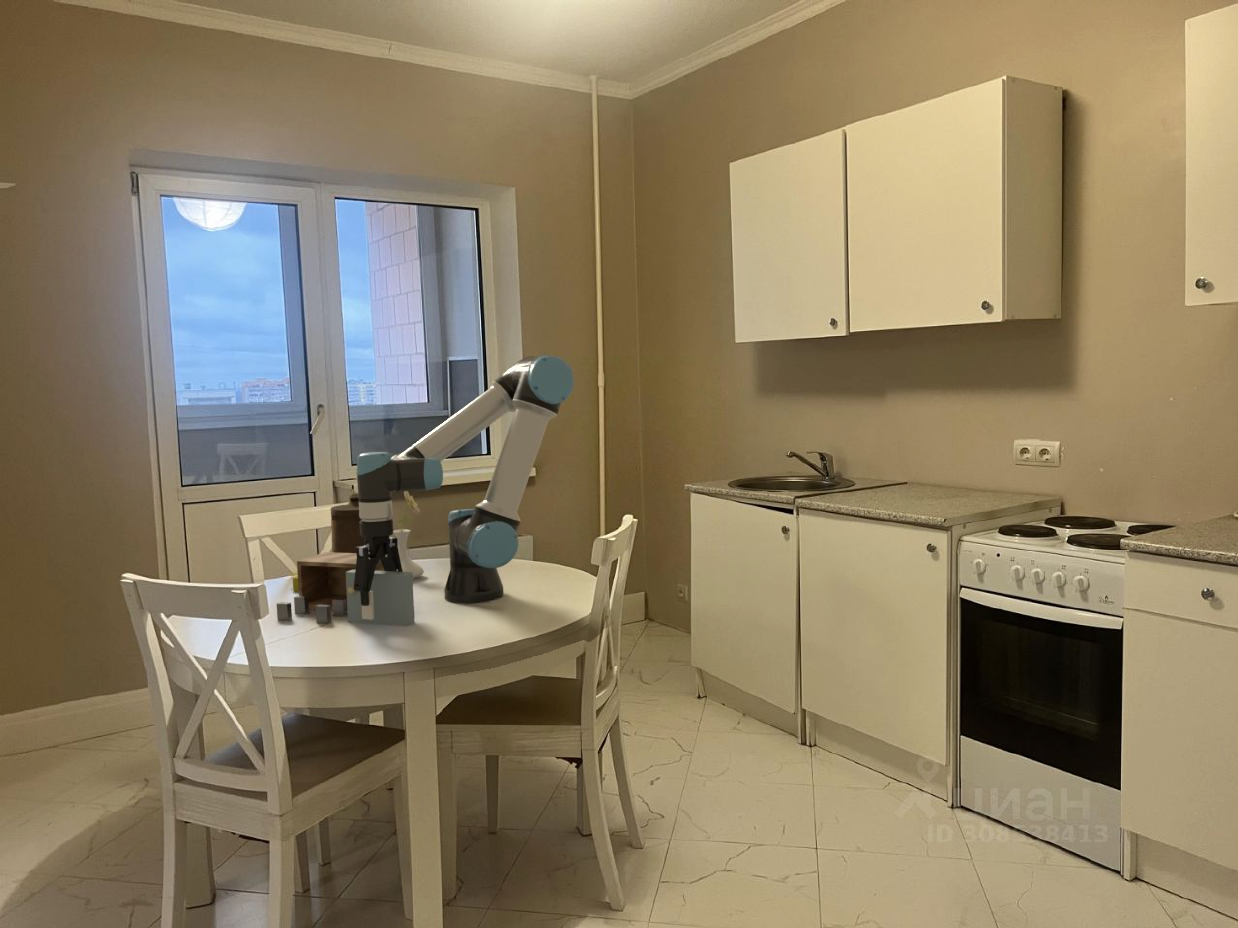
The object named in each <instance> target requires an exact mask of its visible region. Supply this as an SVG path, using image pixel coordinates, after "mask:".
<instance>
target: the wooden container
mask: <svg viewBox="0 0 1238 928" xmlns="http://www.w3.org/2000/svg"><path fill="white" fill-rule="evenodd" d="M349 500H350V501H349V502H348V503H347V504H339V505H334V506H332V507H330V515H331V516H330V517H331V519H330V520H331V521H330V522H331V523H330V525H331V529H330V530H331V552H335V553H356V548H357V547H362V546H364V543H365V538H364V537H362V536H361V535H360V521H361V520H362V519H361V518H360V517H359V498H358V493H353V494H351V495H349Z"/></svg>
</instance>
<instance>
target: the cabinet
mask: <svg viewBox="0 0 1238 928" xmlns="http://www.w3.org/2000/svg"><path fill="white" fill-rule="evenodd" d="M369 559H370V558H369ZM356 560H357V554H356V553H335V552H332V551H331V552H329V551H326V552H321V553H318V554H316V555H312V556H309V557H306V558H302V559H299V560H297V561H296V568H297V572H296V573H298V575H297V576H298V589H299V591H298V596H308V604H309V610H316V606H317V605H330V610H331V611H333V606H332V599H335V598H343V599H347V589H346V572H347V571H350V570H356ZM375 571H385V570H384V568H383V565H382V563H381V561H380V559H379V563H378V564H376V568H375ZM347 612H348V608H347Z"/></svg>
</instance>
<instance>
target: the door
mask: <svg viewBox="0 0 1238 928" xmlns="http://www.w3.org/2000/svg"><path fill="white" fill-rule="evenodd" d="M354 579H355V570H350V571H347V572H346V589H347V608H348V611H347V622H348V623H356V622H359V623H358V624H370V625H371V624H373V625H374V624H375V625H388V626H402V627H409V626H410V625H413V624H415V623H416V622H415V606H414V605H415V604H414V583H413V582H414V581H413V580H414V578H413V577H412V572H393V571H375V572H374V576H373V581H372V585H371V589H370V591H373V604H374V619H373V620H371V619H362V606H361V595H360V591H356V590H354Z"/></svg>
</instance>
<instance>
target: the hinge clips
mask: <svg viewBox="0 0 1238 928" xmlns="http://www.w3.org/2000/svg"><path fill="white" fill-rule="evenodd" d="M293 603H294V614H302V615H305V614H309V613H310V609H309V604H308V596H299V595H295V596H293ZM332 606H333V610H330V605H317V606H316V609H315V619H316V620H315V621H316V623H317V624H330V623H331V622H332V616H335V617H346V616H348V611H347V599H343V598H335V599H332ZM292 613H293V612H292V602H288V601H286V602H285V601H280V602H277V603H276V616H277V619H278V620H277V621H287V620H288V621H290V620H293V617H292V616H293V614H292ZM329 622H330V623H329Z"/></svg>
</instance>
